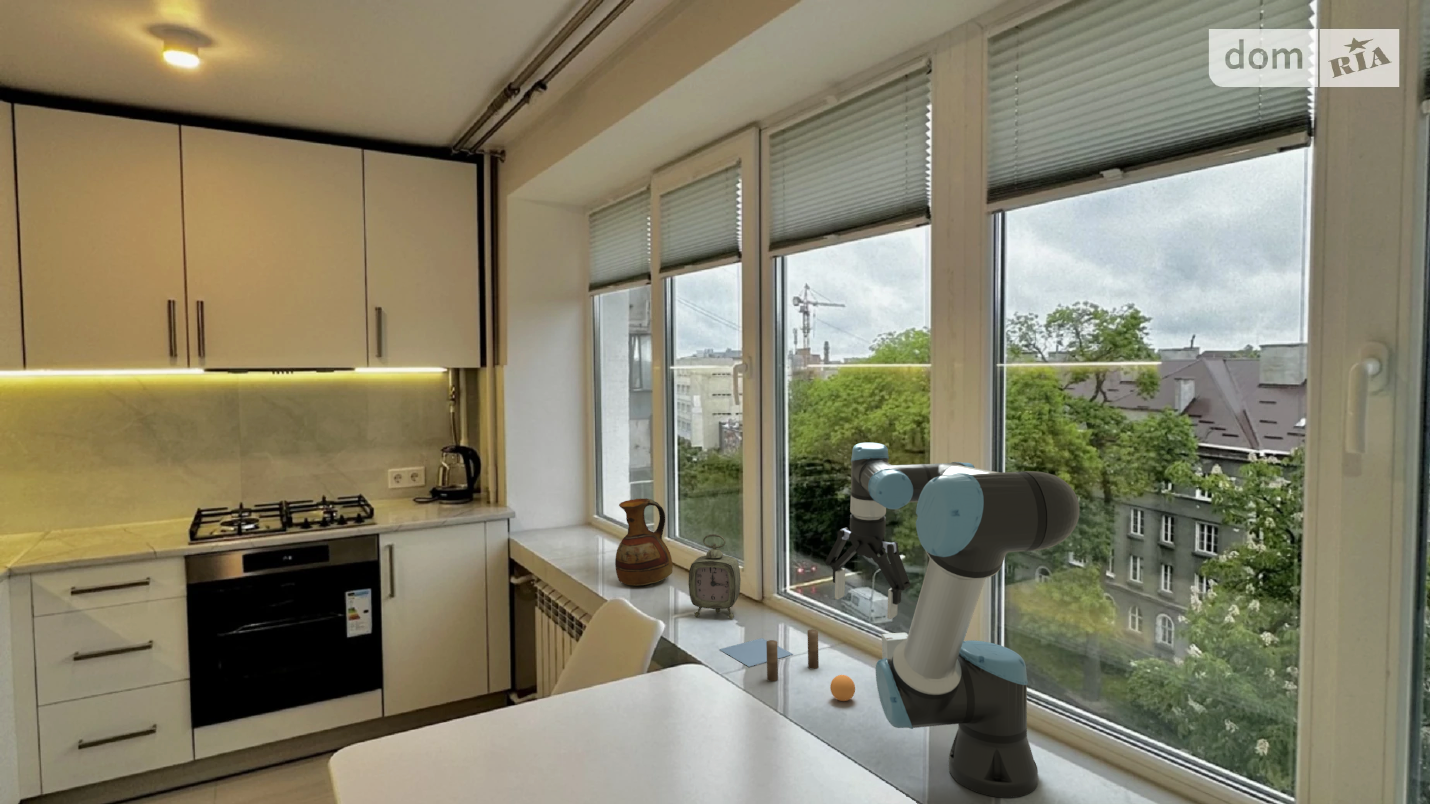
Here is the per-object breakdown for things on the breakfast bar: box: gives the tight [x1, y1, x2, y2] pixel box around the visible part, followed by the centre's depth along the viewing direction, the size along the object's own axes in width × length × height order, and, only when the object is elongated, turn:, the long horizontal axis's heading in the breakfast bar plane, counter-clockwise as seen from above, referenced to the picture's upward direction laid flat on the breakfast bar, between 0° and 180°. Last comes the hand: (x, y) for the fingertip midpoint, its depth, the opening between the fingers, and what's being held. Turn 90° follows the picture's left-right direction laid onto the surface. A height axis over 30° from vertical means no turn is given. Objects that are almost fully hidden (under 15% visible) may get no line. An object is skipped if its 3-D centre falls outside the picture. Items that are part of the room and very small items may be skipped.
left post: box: [766, 639, 779, 682], centre depth 176 cm, size 3×3×9 cm
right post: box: [807, 628, 820, 670], centre depth 183 cm, size 3×3×9 cm
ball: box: [829, 674, 856, 702], centre depth 164 cm, size 6×6×6 cm
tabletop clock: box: [688, 533, 742, 620], centre depth 223 cm, size 14×9×25 cm, turn 76°
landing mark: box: [718, 637, 794, 668], centre depth 193 cm, size 14×14×1 cm
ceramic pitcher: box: [614, 498, 673, 586], centre depth 260 cm, size 20×20×30 cm
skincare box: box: [881, 632, 909, 659], centre depth 170 cm, size 6×4×12 cm
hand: (865, 606), depth 162 cm, fingers open, 13 cm apart
